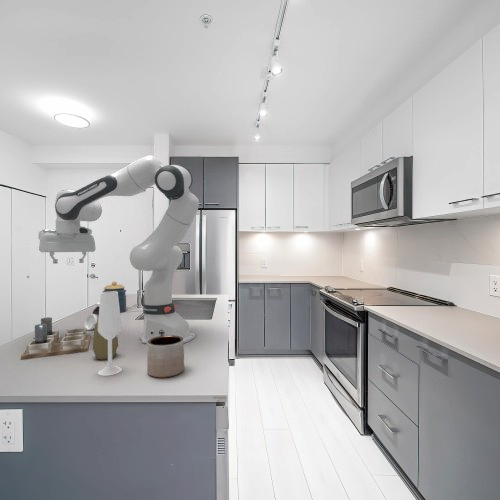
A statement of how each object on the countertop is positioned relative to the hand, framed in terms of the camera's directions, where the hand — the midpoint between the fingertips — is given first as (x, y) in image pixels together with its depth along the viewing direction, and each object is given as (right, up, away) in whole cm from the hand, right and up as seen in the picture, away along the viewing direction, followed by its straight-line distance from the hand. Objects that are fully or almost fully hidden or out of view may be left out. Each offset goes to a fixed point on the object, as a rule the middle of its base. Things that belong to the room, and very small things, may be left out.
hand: (68, 263), depth 131 cm
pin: (+1, -30, -18) cm, 35 cm away
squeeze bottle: (+25, -32, -22) cm, 46 cm away
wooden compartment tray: (+3, -31, -11) cm, 33 cm away
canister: (-4, -31, +54) cm, 62 cm away
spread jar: (+5, -31, +17) cm, 36 cm away
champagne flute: (+32, -32, -35) cm, 57 cm away
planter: (+49, -32, -35) cm, 68 cm away
